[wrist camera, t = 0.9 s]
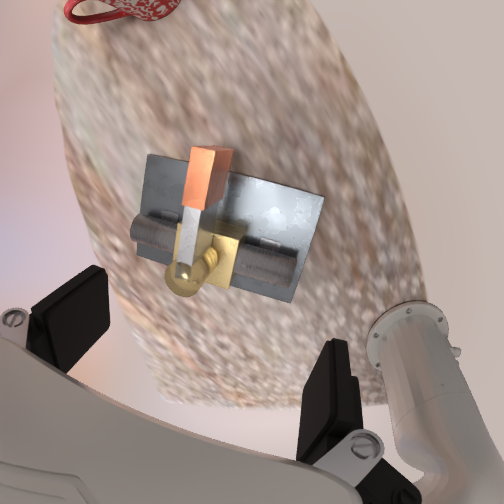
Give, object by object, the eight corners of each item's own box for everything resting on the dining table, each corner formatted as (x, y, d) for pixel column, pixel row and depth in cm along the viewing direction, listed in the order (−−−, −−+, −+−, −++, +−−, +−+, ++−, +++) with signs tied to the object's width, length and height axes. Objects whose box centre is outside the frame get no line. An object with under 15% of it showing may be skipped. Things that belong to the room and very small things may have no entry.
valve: (324, 196, 33) (326, 205, 28) (290, 301, 38) (287, 322, 33) (150, 154, 35) (128, 157, 30) (138, 253, 40) (118, 267, 35)
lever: (215, 276, 33) (196, 302, 28) (185, 267, 33) (162, 290, 28) (241, 151, 28) (224, 153, 22) (207, 143, 28) (183, 144, 23)
